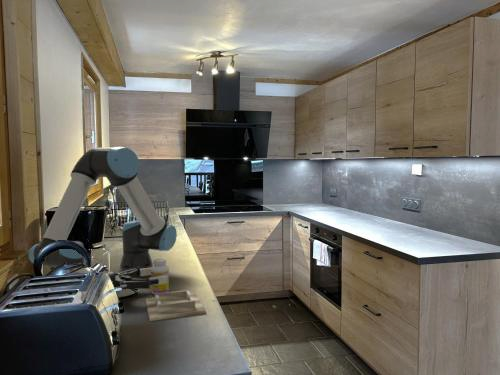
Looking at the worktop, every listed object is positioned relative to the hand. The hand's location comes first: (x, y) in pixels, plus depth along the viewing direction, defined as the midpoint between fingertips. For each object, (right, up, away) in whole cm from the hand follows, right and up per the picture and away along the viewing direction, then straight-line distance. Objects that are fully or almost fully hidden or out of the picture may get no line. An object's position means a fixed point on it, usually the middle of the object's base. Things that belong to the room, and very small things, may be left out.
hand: (161, 274), depth 146 cm
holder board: (+8, -8, -15) cm, 18 cm away
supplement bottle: (-1, -7, 0) cm, 7 cm away
